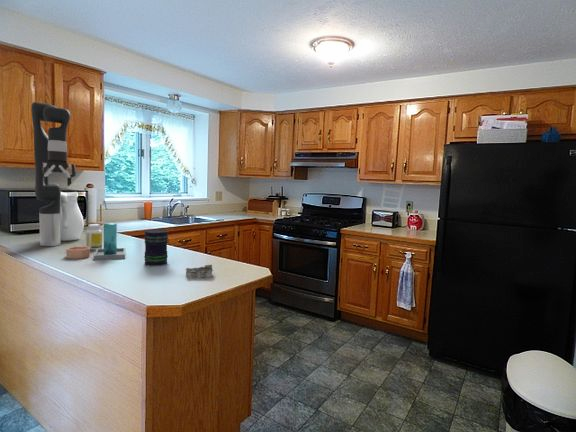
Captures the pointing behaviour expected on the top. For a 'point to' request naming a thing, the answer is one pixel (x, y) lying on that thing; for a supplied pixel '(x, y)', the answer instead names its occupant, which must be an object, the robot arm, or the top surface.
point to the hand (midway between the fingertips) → (58, 185)
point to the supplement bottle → (94, 237)
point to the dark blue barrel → (156, 247)
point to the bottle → (110, 238)
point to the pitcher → (70, 217)
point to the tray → (100, 255)
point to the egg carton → (199, 272)
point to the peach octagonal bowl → (78, 252)
